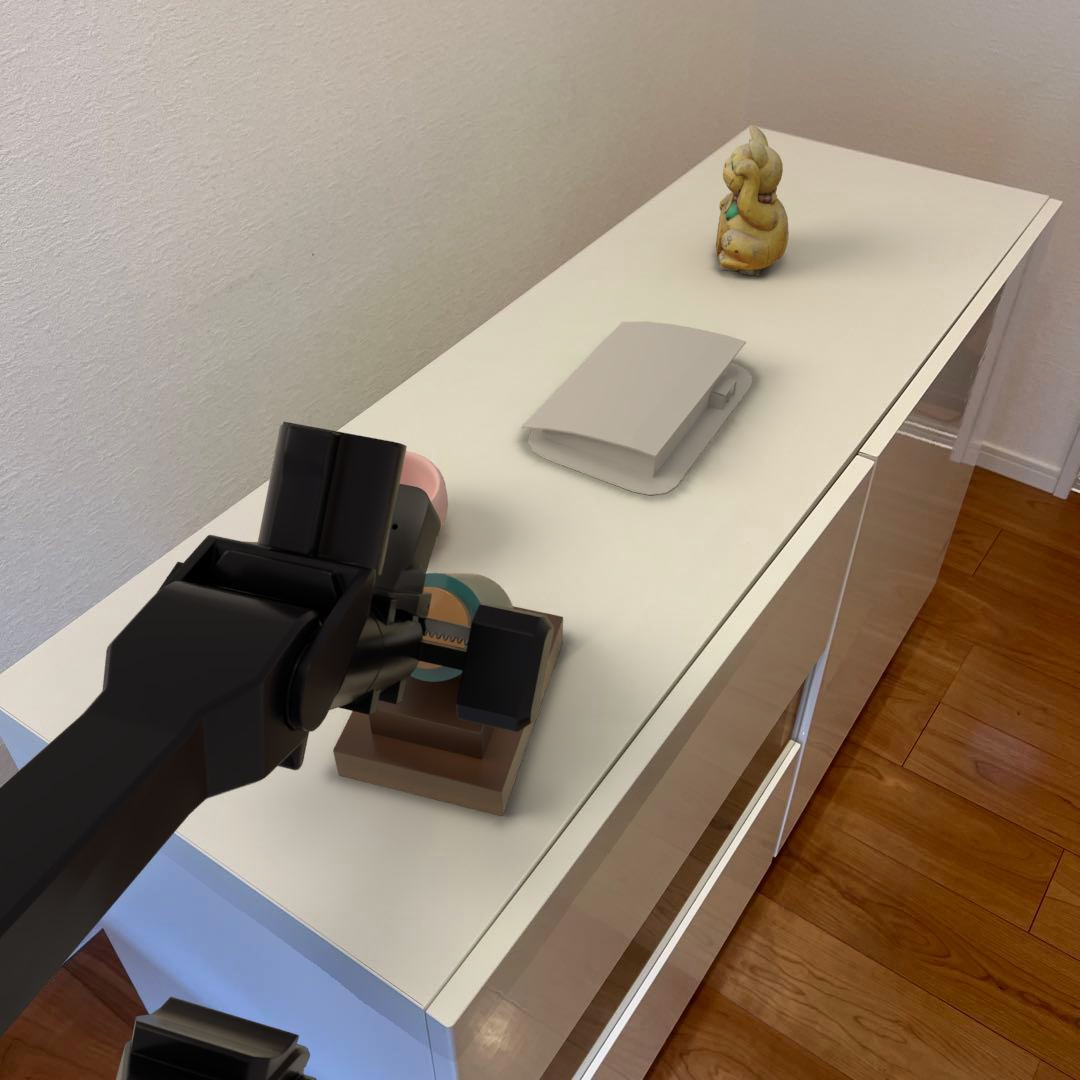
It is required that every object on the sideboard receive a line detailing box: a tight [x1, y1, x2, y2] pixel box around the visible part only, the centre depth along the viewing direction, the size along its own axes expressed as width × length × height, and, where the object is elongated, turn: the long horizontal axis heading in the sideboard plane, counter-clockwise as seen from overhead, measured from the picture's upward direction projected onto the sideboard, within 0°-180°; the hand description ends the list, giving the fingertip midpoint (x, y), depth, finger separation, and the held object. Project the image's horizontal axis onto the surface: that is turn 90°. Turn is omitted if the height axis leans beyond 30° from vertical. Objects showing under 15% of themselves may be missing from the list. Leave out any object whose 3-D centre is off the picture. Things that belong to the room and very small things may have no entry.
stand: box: [332, 606, 564, 817], centre depth 77 cm, size 16×12×6 cm
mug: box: [400, 450, 449, 531], centre depth 91 cm, size 12×10×6 cm
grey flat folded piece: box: [521, 321, 753, 496], centre depth 104 cm, size 15×23×4 cm, turn 150°
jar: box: [410, 572, 513, 682], centre depth 74 cm, size 11×7×11 cm, turn 164°
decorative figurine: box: [715, 124, 790, 277], centre depth 120 cm, size 10×8×15 cm
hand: (422, 630), depth 67 cm, fingers open, 9 cm apart
